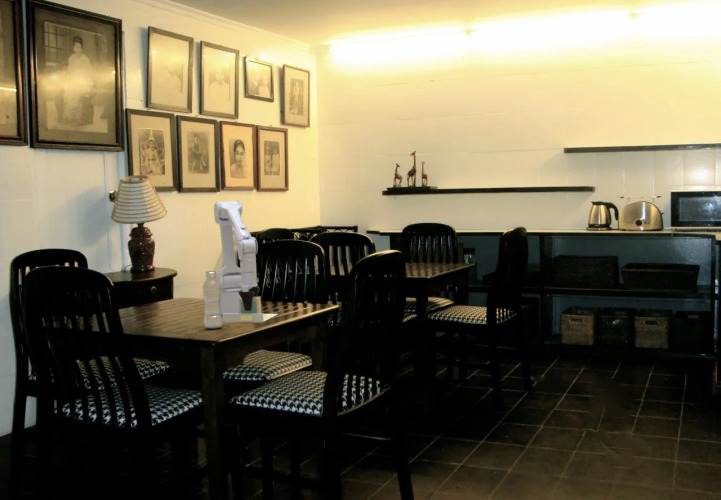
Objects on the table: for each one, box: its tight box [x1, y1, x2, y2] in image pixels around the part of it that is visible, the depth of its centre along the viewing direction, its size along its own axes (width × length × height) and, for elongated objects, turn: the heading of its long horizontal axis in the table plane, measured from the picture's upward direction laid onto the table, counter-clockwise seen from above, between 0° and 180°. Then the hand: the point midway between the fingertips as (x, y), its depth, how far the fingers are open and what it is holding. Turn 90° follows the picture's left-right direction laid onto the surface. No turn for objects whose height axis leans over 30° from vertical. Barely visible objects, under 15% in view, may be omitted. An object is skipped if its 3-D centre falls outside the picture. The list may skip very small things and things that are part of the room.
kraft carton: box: [239, 296, 262, 313], centre depth 268 cm, size 5×7×8 cm
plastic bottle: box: [202, 270, 224, 330], centre depth 255 cm, size 6×7×20 cm
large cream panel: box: [222, 312, 278, 323], centre depth 272 cm, size 15×18×4 cm
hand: (250, 308), depth 268 cm, fingers open, 7 cm apart
